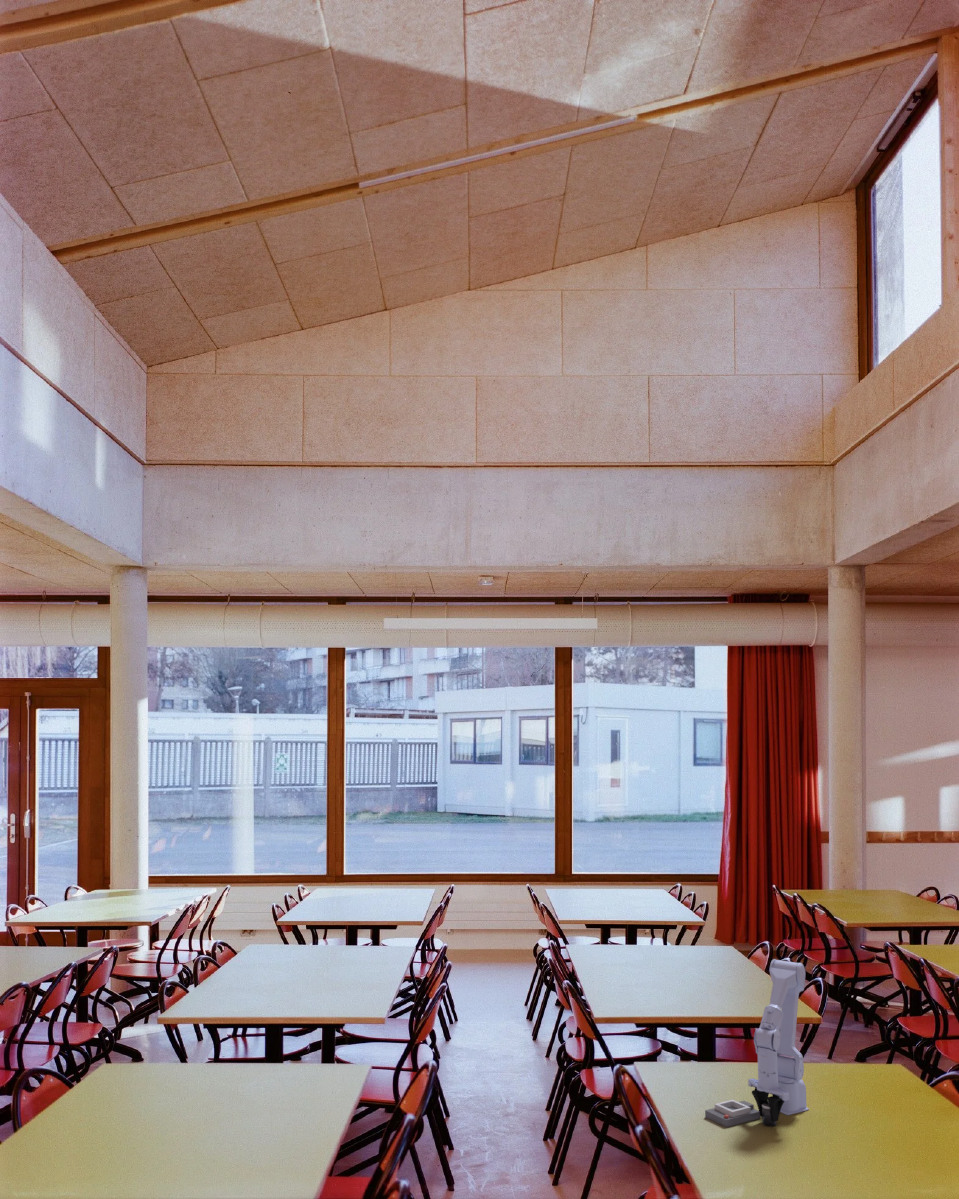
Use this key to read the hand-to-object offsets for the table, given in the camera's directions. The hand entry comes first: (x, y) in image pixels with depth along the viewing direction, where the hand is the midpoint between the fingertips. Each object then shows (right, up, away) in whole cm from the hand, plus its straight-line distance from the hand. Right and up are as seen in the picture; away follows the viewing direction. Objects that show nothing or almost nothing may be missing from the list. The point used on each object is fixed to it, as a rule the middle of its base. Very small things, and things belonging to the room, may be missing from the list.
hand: (769, 1118), depth 303 cm
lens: (0, -2, 0) cm, 2 cm away
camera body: (-10, -2, +5) cm, 11 cm away
